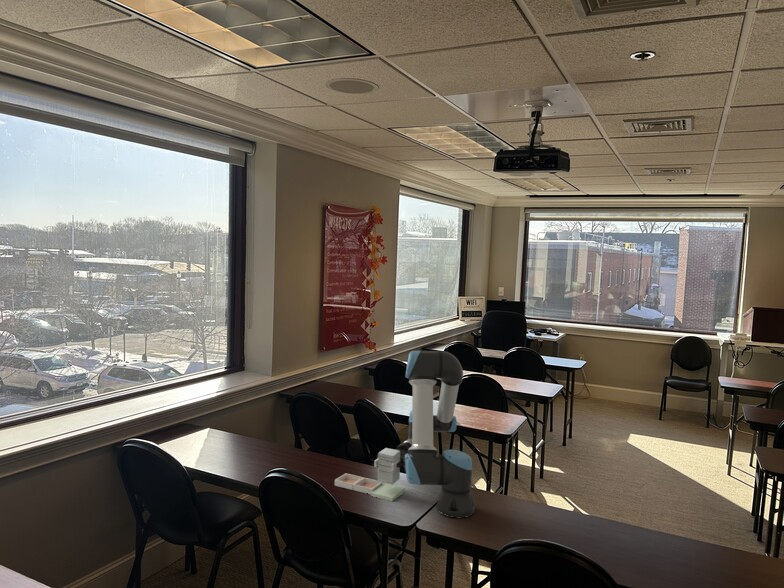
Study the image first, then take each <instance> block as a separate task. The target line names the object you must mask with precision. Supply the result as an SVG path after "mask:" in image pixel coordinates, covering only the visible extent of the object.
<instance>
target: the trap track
mask: <svg viewBox="0 0 784 588" xmlns="http://www.w3.org/2000/svg"><path fill="white" fill-rule="evenodd" d="M334 486H335V487H338V488H341V489H343V488H344V489H347V490H351V491H356V492H358V493H364V494H367V493H368V494H367V495H370V497H372V496H373V498H376V497H377V499H380V500H384V501H385V500H386V501H388V502H393V501H395V500H396V499H397V498H399V497H400V496H401V495H402V494H403V493H405V492H404V491H406V488H405V487H402V486H398V485H394V484H393V485H391V484H386V483H382V482H378V479H377V480H376V479H373V478H367V477H362V476H358V475H355V474H350V473H344V474H342V475H340V476H339V477H337V478H335V479H334Z"/></svg>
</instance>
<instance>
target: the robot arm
mask: <svg viewBox="0 0 784 588" xmlns="http://www.w3.org/2000/svg"><path fill="white" fill-rule="evenodd" d="M406 378H407V379H408V383H409V384H410V385H411V387H412V398H411V399H412V405H411V407H412V410H411V411H409V416H408V417H409V418H408V438H407V440H405V441H403V442H402V443H400V444H399V445H398V446H396V448H395V449H394V450H399V451H400V460H397V461H396V462H394V463H393V464H392V469H391V471H394V470H395V469H397V468H398V467H400V468H401V467H403V466H404V467H405V474H406V479H407V482H408V483H409V484H411V485H419V486H441V491H440V494H439V497H438V500H437V503H436V510H437V509H438V511H440V512H442V513H443V514H446V515H448V516H453V517H465V516H470V515H472V514H473V513H474V514H475V509H476V508H475V503H474V498H473V495H472V472H473V460H472V458H471V456H470V455H469V454H468V453H465V452H463V451H462V450H456V449H444V450H443V451H442V454H438V449H437V448H436V447H435V446H434V433H436V432H437V433H454V432H455V431H456V430H457V425H458V424H457V422H458V421H457V417H456V416H455V415H454V414H455V408H456V403H457V398H458V394H459V393H458V392H459V387H460V385H461V384H462V382H463V378H464V371H463V366H462V364H461V363H460V361H459V359H458V358H457V357H456V356H455V355H454V354H452V353H450V352H448V351H444V350H442V351H440V350H439V351H438V350H436V351H435V350H421V349H420V350H412V351H410V352H409V353H408V357H407V364H406V370H405V379H406ZM438 379H439V380H440V381H441V385H440V386H441V387H440V393H439V398H438V399H439V400H438V407H437V412H436V413H437V414H436V415H435V414H434V386H435V385H436V384H437V382H438V381H437V380H438ZM389 449H391V448H389ZM373 461H374V464H373V466H374V467H375V468H378V453H377V454H376V459H375V460H373ZM438 511H437V512H438ZM474 514H473V515H474ZM473 515H472V516H473ZM470 517H471V516H470Z"/></svg>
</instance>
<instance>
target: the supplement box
mask: <svg viewBox="0 0 784 588" xmlns="http://www.w3.org/2000/svg"><path fill="white" fill-rule="evenodd" d="M377 454H378V466H377V481H378V482H382V484H384V483H386V484H390V485H394V484H395V483H397V482H398V481H399V480H400V476H401V475H400V474H401V471H400V470H401V467H398V468H397V469H395V470H394V471H391V469H392V464H393V463H394V462H396V461H397V460H400V461H401V459H400V451H399V450H395V449H393V448H390V449H389V448H388V447H385V448H384V449H382V450H381V451H379V452H378V453H377Z"/></svg>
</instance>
